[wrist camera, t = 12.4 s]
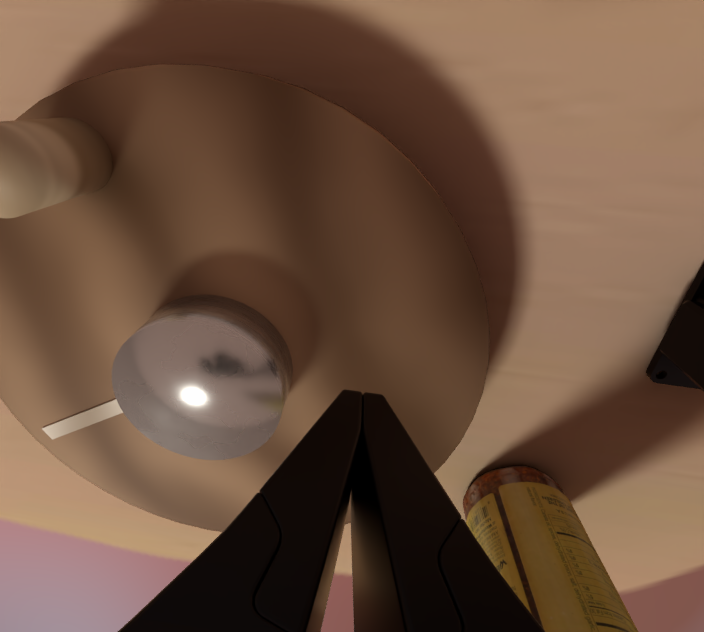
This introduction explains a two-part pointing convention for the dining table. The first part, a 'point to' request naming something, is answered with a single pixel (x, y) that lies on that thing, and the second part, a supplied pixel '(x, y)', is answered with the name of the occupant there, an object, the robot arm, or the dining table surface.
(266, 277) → the turntable
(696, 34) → the dining table surface
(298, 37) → the dining table surface
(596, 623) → the sauce bottle
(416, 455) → the robot arm
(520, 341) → the dining table surface
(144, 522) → the dining table surface
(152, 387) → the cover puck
